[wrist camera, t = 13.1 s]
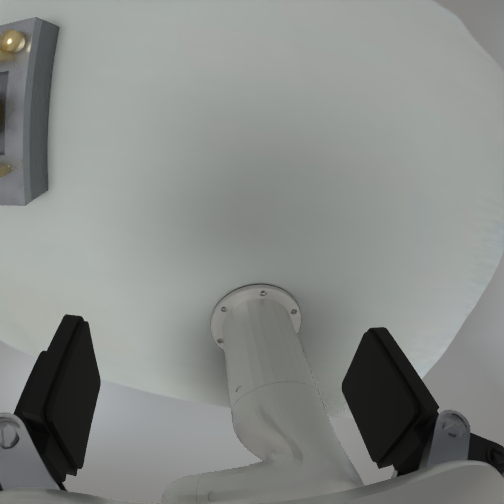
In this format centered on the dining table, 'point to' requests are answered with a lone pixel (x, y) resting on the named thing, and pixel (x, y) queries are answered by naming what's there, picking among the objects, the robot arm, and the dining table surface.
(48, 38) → the grey slotted box
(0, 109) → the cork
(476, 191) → the dining table surface
